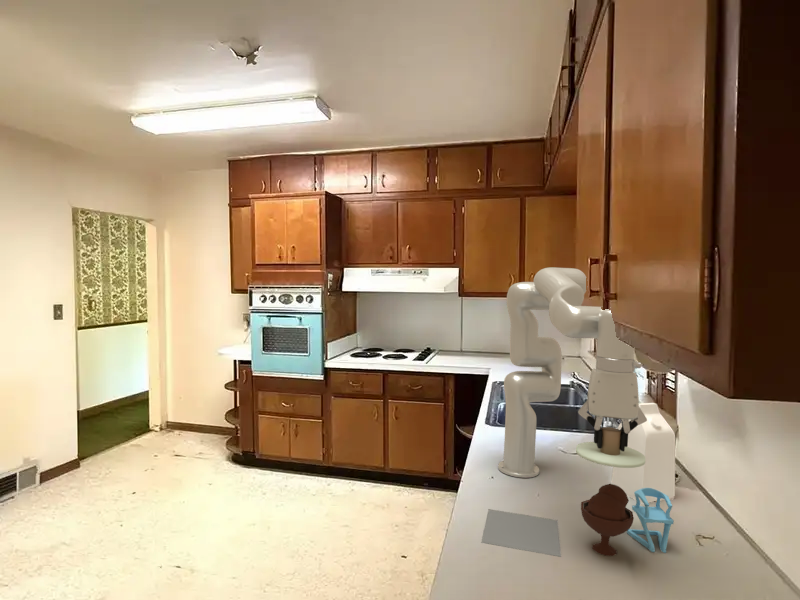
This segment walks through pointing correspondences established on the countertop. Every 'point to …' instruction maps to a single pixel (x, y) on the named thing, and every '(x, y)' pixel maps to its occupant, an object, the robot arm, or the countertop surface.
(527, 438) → the robot arm
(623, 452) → the lid
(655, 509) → the chair
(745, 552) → the countertop surface
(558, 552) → the mat
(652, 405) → the milk
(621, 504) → the ice cream bowl
